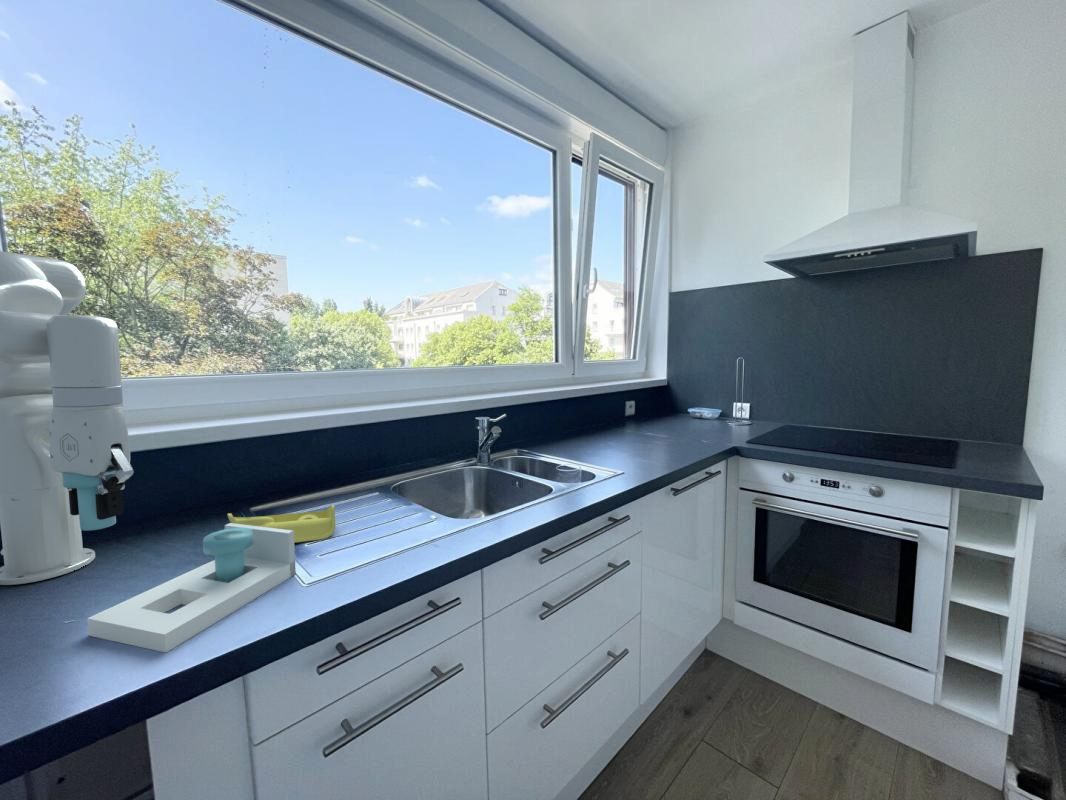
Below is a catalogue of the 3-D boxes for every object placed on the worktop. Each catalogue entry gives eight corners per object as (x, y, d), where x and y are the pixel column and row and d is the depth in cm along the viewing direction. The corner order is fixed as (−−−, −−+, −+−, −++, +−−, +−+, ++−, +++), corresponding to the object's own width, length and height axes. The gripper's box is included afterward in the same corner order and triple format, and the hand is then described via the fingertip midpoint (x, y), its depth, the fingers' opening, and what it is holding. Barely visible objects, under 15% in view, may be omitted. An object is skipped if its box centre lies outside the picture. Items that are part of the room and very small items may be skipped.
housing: (88, 635, 61) (83, 579, 60) (232, 564, 82) (230, 523, 82) (165, 652, 58) (161, 593, 57) (295, 574, 79) (293, 530, 78)
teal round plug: (55, 531, 66) (49, 472, 66) (108, 515, 73) (104, 462, 72) (87, 536, 65) (82, 476, 64) (139, 520, 71) (135, 465, 70)
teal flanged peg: (195, 594, 72) (192, 541, 71) (233, 575, 78) (230, 525, 78) (228, 600, 70) (225, 545, 69) (264, 579, 77) (262, 529, 76)
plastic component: (329, 510, 106) (335, 503, 98) (329, 542, 103) (335, 537, 95) (228, 519, 95) (226, 511, 87) (226, 555, 93) (224, 550, 85)
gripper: (16, 397, 65) (27, 516, 67) (100, 403, 61) (109, 530, 63) (79, 393, 73) (87, 501, 74) (158, 399, 68) (164, 512, 70)
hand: (97, 513), depth 69 cm, fingers closed on teal round plug, 4 cm apart
